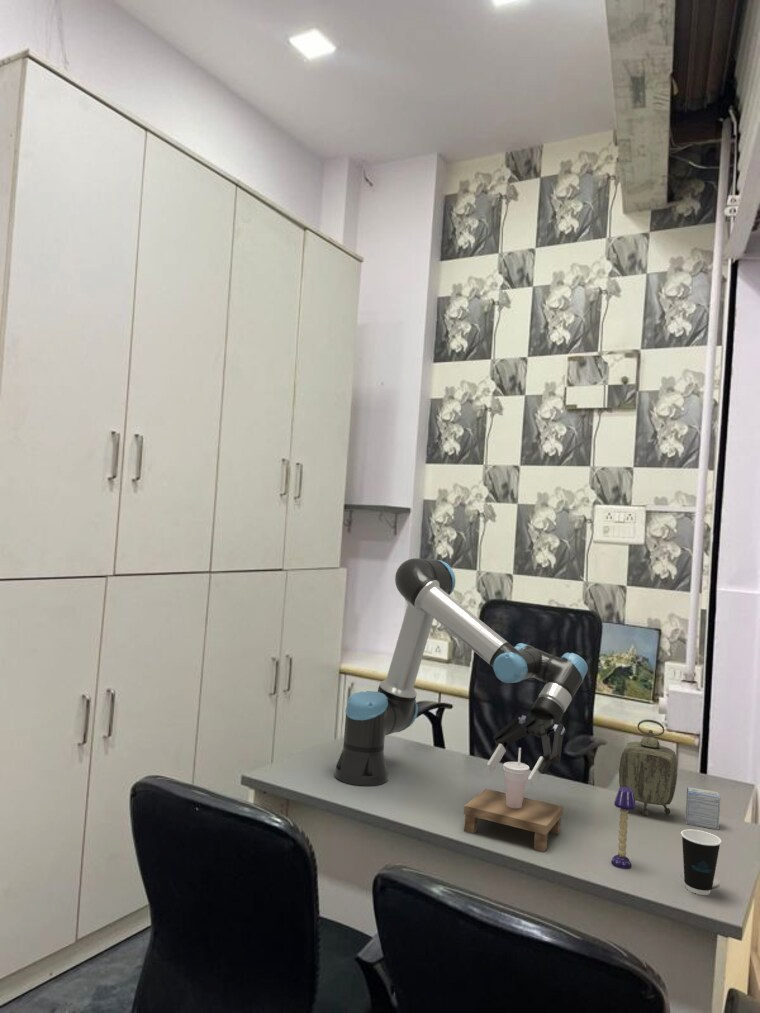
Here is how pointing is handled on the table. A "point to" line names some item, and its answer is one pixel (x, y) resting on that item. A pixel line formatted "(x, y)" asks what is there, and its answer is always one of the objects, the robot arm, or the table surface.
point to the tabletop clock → (649, 770)
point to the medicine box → (702, 808)
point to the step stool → (514, 815)
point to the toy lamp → (623, 824)
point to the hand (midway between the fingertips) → (510, 775)
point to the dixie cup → (699, 860)
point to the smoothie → (515, 782)
